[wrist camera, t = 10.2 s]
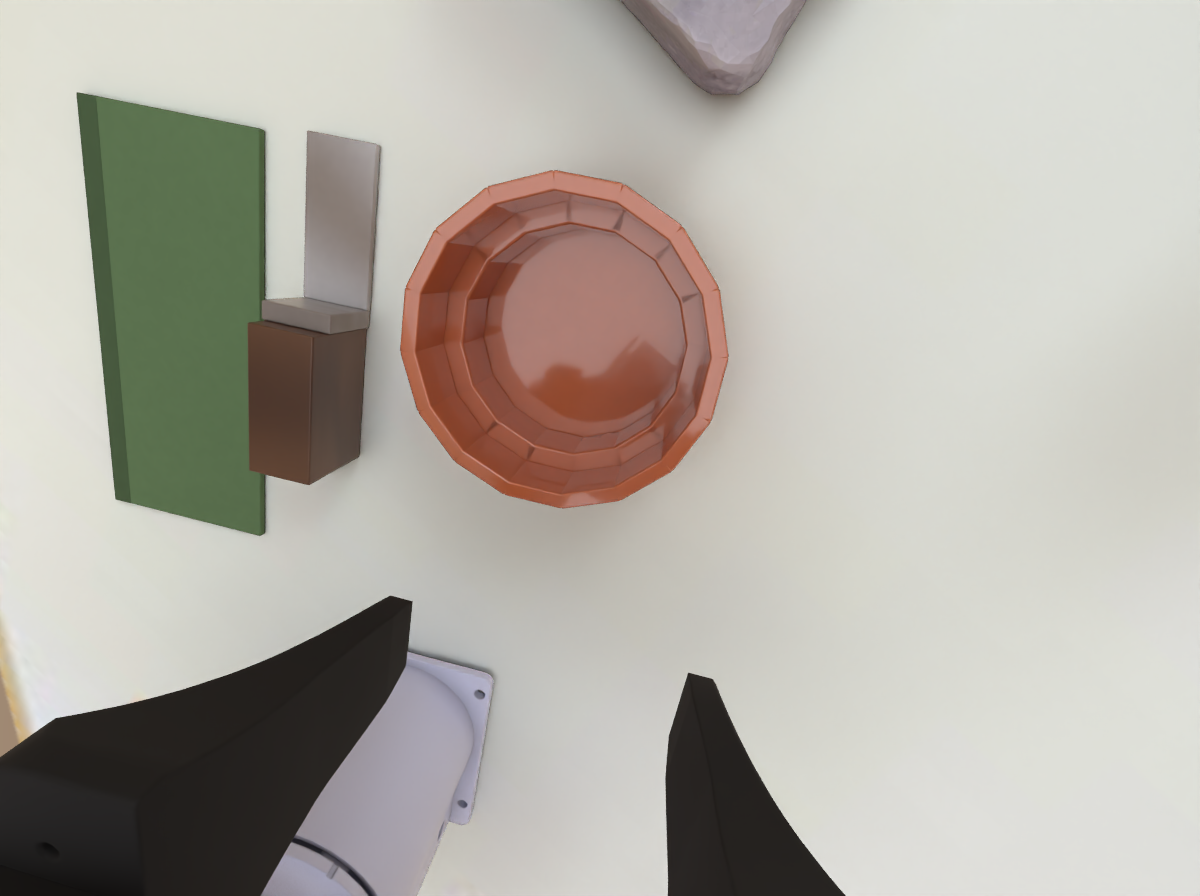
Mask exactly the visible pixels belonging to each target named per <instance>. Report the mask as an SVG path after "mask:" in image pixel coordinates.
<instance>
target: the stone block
mask: <svg viewBox="0 0 1200 896" xmlns="http://www.w3.org/2000/svg"><path fill="white" fill-rule="evenodd" d="M621 1H622V2H623V4H624V5H625V6H626V7H627V8H628V9H629V10H630V11H631V12H632V13H633V14H634V15H635V16H636V17H637V18H638V19H639V20H640V22H641V23H642V24H643V25H644V26H645V27H646V29H647V30H648V31H649V32H650V33H651V34H652V36H653V37H654V38H655V39H656V40H657V41H658V43H659V44H660V45H661V46H662V47H663V49H664V50H665V51H667V52H668V53H669V55H670V56H671V57H672V59H673V60H674V61H675V62H676V64H677V65H678V66H679V67H680V68H681V69H682V70H683V71H684V72H685V73H686V74H687V75H688V77H689V78H690V79H691V80H692V82H694V83H695V84H696V85H698V86H699V87H700V88H702V89H703V90H705V91H707V92H708V93H710V94H739V93H741V92H743V91H744V90H746V89H747V88H749V87H751V86H752V85H754V84H755V83H757V82H758V81H759V80H760V78H761V77H762V75H763V74H764V72H765V71H766V69H767V68H768V67H769V65H770V64H771V62H772V60H773V57H774V55H775V52H776V50H777V48H778V47H779V45H780V44H781V42H782V40H783V38H784V36H785V34H786V33H787V31H788V30H789V28H790V27H791V25H792V24H793V22H794V20H795V19H796V17H797V15H798V14H799V12H800V10H801V9H802V7H803V5H804V3H805V2H806V0H621Z"/></svg>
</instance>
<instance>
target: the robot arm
mask: <svg viewBox="0 0 1200 896" xmlns="http://www.w3.org/2000/svg"><path fill="white" fill-rule="evenodd" d="M412 602H413V601H409V600H405V599H401V598H397V597H393V596H389V597H387V598H385V599H383V600H381V601H379V602H378V603H376V604H374V605H372V606H371V607H369V608H367V609H365V610H363V611H362V612H360V613H358V614H356V615H355V616H353V617H351V618H349V619H347V620H346V621H344V622H342V623H340V624H338V625H336V626H335V627H333V628H331V629H329V630H327V631H325V632H323V633H322V634H320V635H318V636H316V637H314V638H311V639H309V640H307V641H305V642H303V643H301V644H299V645H297V646H295V647H293V648H291V649H289V650H287V651H285V652H283V653H281V654H278V655H276V656H274V657H272V658H269V659H267V660H265V661H262V662H260V663H257V664H255V665H252V666H250V667H247V668H245V669H242V670H240V671H237V672H234V673H232V674H229V675H226V676H223V677H220V678H217V679H214V680H211V681H208V682H205V683H202V684H199V685H196V686H192V687H189V688H186V689H183V690H180V691H176V692H173V693H169V694H165V695H162V696H158V697H154V698H150V699H146V700H142V701H138V702H134V703H130V704H126V705H122V706H117V707H112V708H107V709H102V710H97V711H92V712H87V713H82V714H77V715H72V716H66V717H60V718H55V719H54V720H52V721H51V722H49V723H48V724H46V725H45V726H44V727H42V728H41V729H39V730H38V731H37V732H35V733H34V734H32V735H31V736H30V737H28V738H27V739H25V740H24V741H23V742H21V743H20V744H18V745H17V746H15V747H14V748H13V749H11V750H10V751H8V752H7V753H6V754H4V755H3V756H1V757H0V896H417V895H418V892H419V890H420V888H421V885H422V883H423V881H424V878H425V876H426V874H427V871H428V869H429V866H430V864H431V862H432V859H433V857H434V855H435V852H436V850H437V848H438V845H439V843H440V840H441V838H442V836H443V833H444V831H445V829H446V826H447V824H448V822H453V823H456V824H460V825H464V824H467V823H468V822H469V821H470V818H471V816H472V811H473V805H474V799H475V793H476V787H477V781H478V775H479V769H480V763H481V757H482V751H483V745H484V739H485V733H486V727H487V721H488V715H489V708H490V702H491V696H492V690H493V684H494V682H493V678H492V677H491V676H490V675H489V674H488V673H485V672H482V671H478V670H474V669H471V668H467V667H463V666H459V665H455V664H452V663H448V662H444V661H440V660H437V659H433V658H429V657H425V656H422V655H418V654H414V653H410V652H408V642H409V632H410V622H411V612H412ZM478 690H481V691H483V692H484V693H481V692H479V691H478ZM666 820H667V855H668V896H845V894H844V893H843V892H842V891H841V890H840V889H839V888H838V886H837V885H836V884H835V883H834V882H833V881H832V879H831V878H830V877H829V876H828V875H827V873H826V872H825V871H824V870H823V868H822V867H821V866H820V865H819V863H818V862H817V861H816V859H815V858H814V857H813V856H812V854H811V853H810V852H809V850H808V849H807V848H806V847H805V845H804V844H803V843H802V841H801V840H800V839H799V837H798V836H797V834H796V833H795V832H794V830H793V829H792V827H791V826H790V825H789V823H788V822H787V820H786V819H785V817H784V816H783V814H782V813H781V811H780V810H779V808H778V806H777V805H776V803H775V802H774V800H773V798H772V797H771V795H770V793H769V792H768V790H767V788H766V787H765V785H764V783H763V781H762V780H761V778H760V776H759V774H758V773H757V771H756V769H755V767H754V765H753V764H752V762H751V760H750V758H749V756H748V754H747V752H746V750H745V748H744V746H743V744H742V742H741V740H740V738H739V736H738V734H737V732H736V730H735V728H734V726H733V723H732V721H731V719H730V717H729V715H728V712H727V710H726V708H725V705H724V703H723V701H722V698H721V696H720V694H719V691H718V689H717V686H716V684H715V682H714V680H713V679H710V678H707V677H703V676H699V675H695V674H691V673H688V675H687V679H686V682H685V685H684V688H683V692H682V695H681V698H680V702H679V705H678V708H677V711H676V715H675V718H674V721H673V725H672V728H671V731H670V734H669V742H668V753H667V765H666Z"/></svg>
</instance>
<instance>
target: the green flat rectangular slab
mask: <svg viewBox="0 0 1200 896" xmlns="http://www.w3.org/2000/svg"><path fill="white" fill-rule="evenodd" d="M77 103H78V114H79V124H80V135H81V145H82V155H83V166H84V176H85V187H86V197H87V207H88V218H89V228H90V239H91V249H92V260H93V270H94V280H95V291H96V301H97V312H98V322H99V332H100V343H101V353H102V364H103V374H104V385H105V395H106V405H107V416H108V426H109V437H110V447H111V457H112V468H113V478H114V489H115V499H116V500H120V501H124V502H128V503H133V504H137V505H141V506H145V507H149V508H153V509H157V510H161V511H165V512H168V513H172V514H176V515H180V516H184V517H188V518H192V519H196V520H200V521H204V522H208V523H212V524H216V525H219V526H223V527H227V528H231V529H235V530H239V531H243V532H247V533H251V534H255V535H259V536H261V535H262V534H264V533H265V474H261V473H257V472H253V471H250V470H249V413H248V323H249V322H257V321H264V319H262V300H264V130H261V129H258V128H253V127H248V126H243V125H238V124H233V123H228V122H223V121H218V120H213V119H208V118H203V117H198V116H193V115H188V114H183V113H178V112H173V111H168V110H163V109H158V108H153V107H148V106H143V105H138V104H133V103H128V102H123V101H118V100H113V99H108V98H103V97H98V96H93V95H88V94H83V93H77Z"/></svg>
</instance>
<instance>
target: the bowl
mask: <svg viewBox="0 0 1200 896" xmlns="http://www.w3.org/2000/svg"><path fill="white" fill-rule="evenodd" d="M718 288H719V287H718V285H717V283H716V281H715V280H714V278H713V276H712V275H711V273H710V271H709V270H708V268H707V266H706V264H705V263H704V261H703V259H702V258H701V256H700V254H699V253H698V251H697V249H696V248H695V246H694V244H693V243H692V241H691V239H690V237H689V236H688V234H687V232H686V231H685V229H684V228H683V227H682V226H681V224H679V223H678V222H677V221H675V220H674V219H672V218H671V217H670V216H668V215H667V214H665V213H664V212H663V211H661V210H660V209H658V208H657V207H656V206H654V205H653V204H652V203H650V202H649V201H647V200H646V199H645V198H643V197H642V196H640V195H639V194H638V193H636V192H635V191H633V190H632V189H631V188H629V187H628V186H626V185H623V184H622V183H619V182H614V181H609V180H603V179H598V178H593V177H588V176H583V175H578V174H573V173H568V172H563V171H558V170H555V171H553V170H551V171H547V172H543V173H539V174H535V175H531V176H527V177H523V178H519V179H515V180H511V181H507V182H503V183H499V184H495V185H491V186H488V188H485V189H483V190H482V191H481V192H480V193H478V194H477V195H476V196H475V197H474V198H472V199H471V200H470V201H469V202H467V203H466V204H465V205H464V206H462V207H461V208H460V209H459V210H458V211H456V212H455V213H454V214H453V215H451V216H450V217H449V218H448V219H447V220H445V221H444V222H443V223H442V224H440V225H439V226H438V227H437V228H436V230H434V232H433V234H432V236H431V238H430V240H429V242H428V244H427V246H426V248H425V250H424V252H423V254H422V256H421V258H420V260H419V262H418V264H417V266H416V267H415V269H414V271H413V273H412V275H411V277H410V279H409V281H408V283H407V285H406V288H405V296H404V309H403V322H402V334H401V347H400V351H401V356H402V359H403V363H404V366H405V370H406V373H407V376H408V380H409V383H410V387H411V390H412V393H413V397H414V400H415V404H416V407H417V410H418V411H419V414H420V415H421V417H422V418H423V419H424V421H425V422H426V424H427V425H428V426H429V428H430V429H431V430H432V432H433V433H434V434H435V436H436V437H437V438H438V440H439V441H440V443H441V444H442V445H443V447H444V448H445V449H446V451H447V452H448V453H449V455H450V456H451V457H452V459H453V460H455V462H456V463H458V464H459V465H461V466H462V467H464V468H465V469H467V470H468V471H470V472H471V473H473V474H474V475H476V476H477V477H478V478H480V479H481V480H483V481H484V482H486V483H487V484H489V485H490V486H492V487H493V488H495V489H496V490H498V491H499V492H501V493H502V494H505V495H508V496H512V497H516V498H520V499H524V500H528V501H533V502H537V503H541V504H545V505H549V506H553V507H557V508H570V507H577V506H585V505H593V504H600V503H608V502H615V501H620V500H622V499H624V498H626V497H628V496H629V495H631V494H633V493H635V492H637V491H638V490H640V489H642V488H644V487H645V486H647V485H649V484H651V483H652V482H654V481H656V480H658V479H660V478H661V477H663V476H665V475H667V474H668V473H670V472H671V471H672V470H674V469H675V467H676V466H677V465H678V464H679V462H680V461H681V460H682V459H683V457H684V456H685V455H686V453H687V452H688V451H689V450H690V448H691V447H692V446H693V444H694V443H695V442H696V441H697V439H698V438H699V437H700V435H701V434H702V433H703V432H704V430H705V429H706V428H707V427H708V425H709V424H710V421H711V420H712V417H713V414H714V410H715V406H716V403H717V399H718V395H719V392H720V388H721V384H722V381H723V377H724V373H725V370H726V366H727V362H728V356H729V355H728V348H727V340H726V333H725V325H724V318H723V310H722V303H721V295H720V290H719V289H718Z"/></svg>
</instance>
